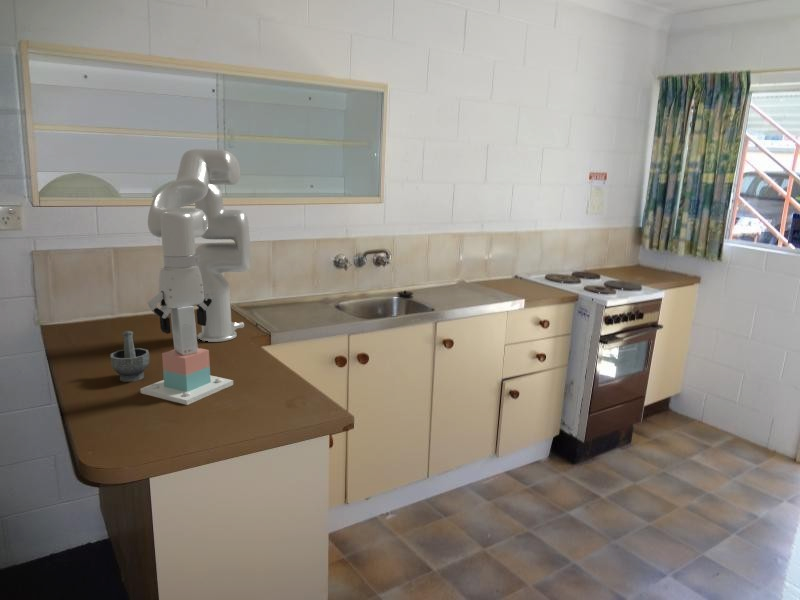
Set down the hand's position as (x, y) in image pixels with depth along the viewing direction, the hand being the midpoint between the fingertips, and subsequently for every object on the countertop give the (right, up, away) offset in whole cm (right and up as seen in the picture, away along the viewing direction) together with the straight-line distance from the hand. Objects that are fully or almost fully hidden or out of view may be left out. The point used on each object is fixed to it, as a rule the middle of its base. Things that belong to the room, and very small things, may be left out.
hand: (184, 328), depth 154 cm
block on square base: (0, -16, +3) cm, 16 cm away
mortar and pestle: (-18, -14, +11) cm, 26 cm away
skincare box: (0, -6, +1) cm, 6 cm away
